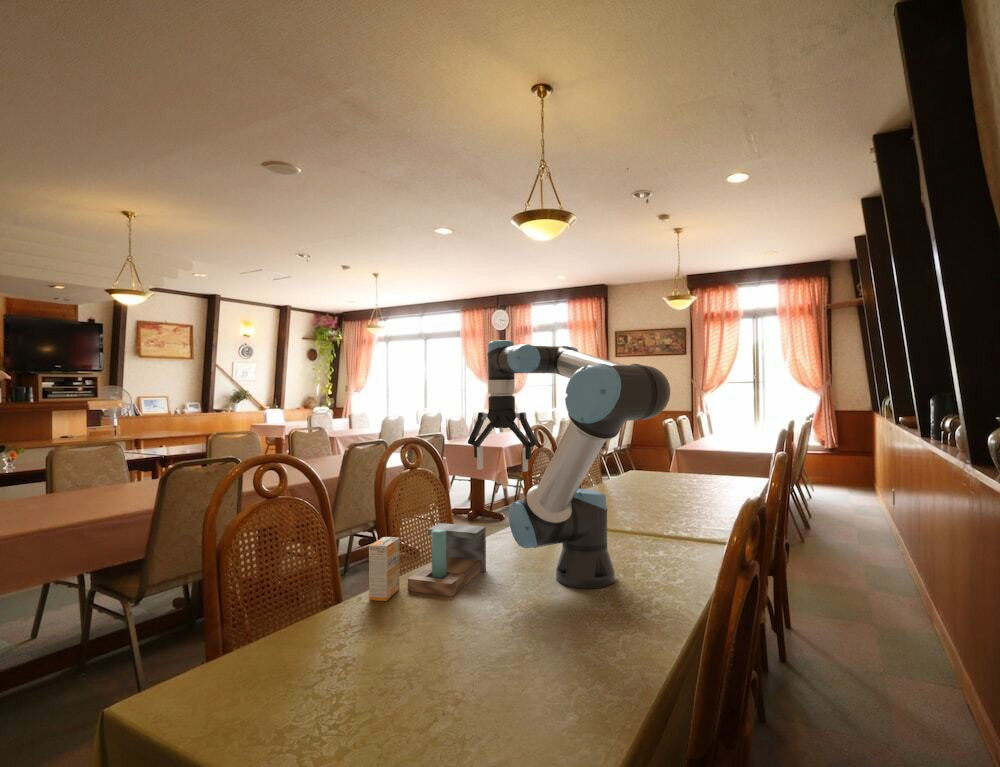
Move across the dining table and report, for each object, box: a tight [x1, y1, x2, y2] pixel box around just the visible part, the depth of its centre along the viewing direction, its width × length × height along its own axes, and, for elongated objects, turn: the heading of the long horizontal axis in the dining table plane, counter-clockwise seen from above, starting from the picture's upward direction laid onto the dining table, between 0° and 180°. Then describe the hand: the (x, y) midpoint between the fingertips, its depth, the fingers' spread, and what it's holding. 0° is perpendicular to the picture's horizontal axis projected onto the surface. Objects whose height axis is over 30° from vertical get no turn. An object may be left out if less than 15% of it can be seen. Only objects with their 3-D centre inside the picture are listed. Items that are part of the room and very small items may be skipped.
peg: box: [431, 529, 446, 579], centre depth 138 cm, size 4×4×14 cm
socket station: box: [407, 522, 487, 597], centre depth 143 cm, size 14×20×12 cm
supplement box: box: [368, 536, 400, 602], centre depth 133 cm, size 8×5×13 cm, turn 168°
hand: (502, 470), depth 155 cm, fingers open, 13 cm apart
